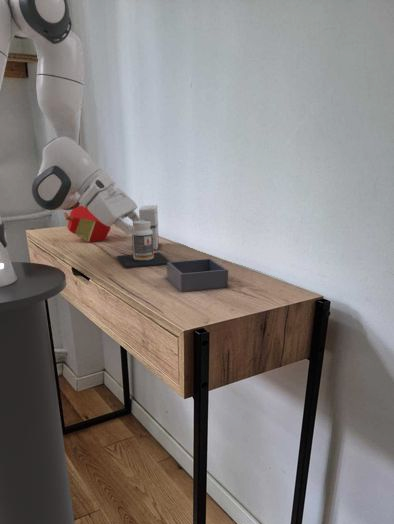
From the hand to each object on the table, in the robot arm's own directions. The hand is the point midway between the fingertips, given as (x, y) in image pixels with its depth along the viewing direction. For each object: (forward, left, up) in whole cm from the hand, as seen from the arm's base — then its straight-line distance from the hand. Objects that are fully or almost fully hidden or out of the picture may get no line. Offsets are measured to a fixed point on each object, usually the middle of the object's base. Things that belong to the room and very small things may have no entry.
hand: (136, 229), depth 128 cm
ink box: (+7, +16, -9) cm, 19 cm away
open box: (+8, -24, -8) cm, 27 cm away
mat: (+1, 0, -8) cm, 9 cm away
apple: (-9, +32, -9) cm, 34 cm away
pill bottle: (+1, 0, -8) cm, 8 cm away
